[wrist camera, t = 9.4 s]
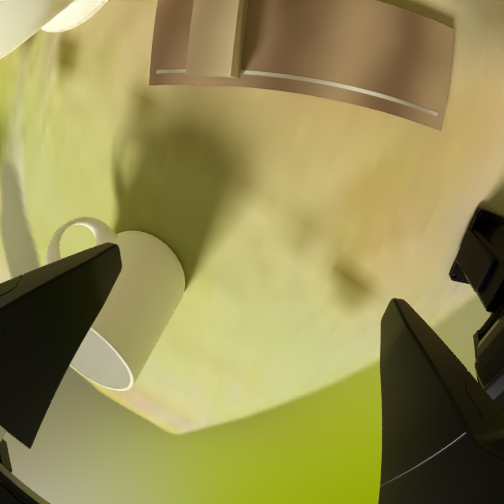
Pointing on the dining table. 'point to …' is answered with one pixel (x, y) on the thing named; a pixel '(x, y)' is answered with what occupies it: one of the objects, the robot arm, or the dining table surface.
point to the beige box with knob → (216, 38)
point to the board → (325, 54)
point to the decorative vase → (40, 18)
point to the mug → (127, 305)
